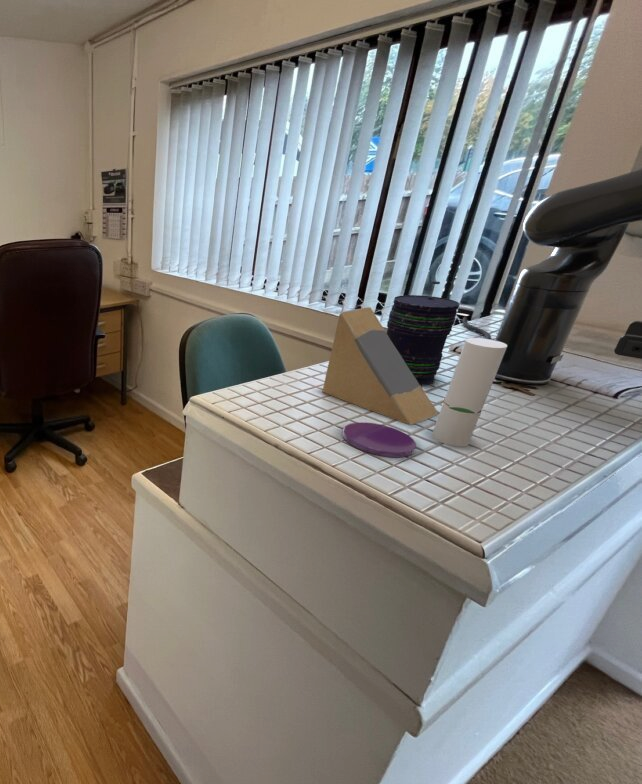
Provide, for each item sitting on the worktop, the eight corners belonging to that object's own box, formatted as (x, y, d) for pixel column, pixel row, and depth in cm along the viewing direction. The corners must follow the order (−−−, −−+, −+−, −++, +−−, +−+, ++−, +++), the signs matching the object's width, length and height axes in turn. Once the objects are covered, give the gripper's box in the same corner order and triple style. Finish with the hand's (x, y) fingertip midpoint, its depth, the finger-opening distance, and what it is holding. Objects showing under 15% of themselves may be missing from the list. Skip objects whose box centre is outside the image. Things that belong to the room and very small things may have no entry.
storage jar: (425, 390, 84) (457, 292, 77) (365, 375, 91) (389, 284, 84) (441, 376, 90) (473, 283, 82) (384, 363, 97) (408, 277, 89)
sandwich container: (411, 426, 72) (441, 334, 66) (320, 392, 84) (339, 312, 78) (441, 413, 75) (472, 325, 69) (350, 382, 88) (369, 305, 82)
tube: (424, 433, 70) (457, 338, 64) (450, 431, 70) (485, 337, 64) (448, 447, 66) (486, 348, 60) (476, 445, 66) (516, 346, 60)
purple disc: (344, 421, 74) (345, 417, 73) (413, 435, 69) (414, 431, 69) (340, 446, 67) (341, 441, 67) (416, 464, 62) (418, 459, 62)
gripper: (913, 320, 43) (644, 294, 55) (955, 352, 35) (630, 314, 47) (859, 393, 46) (615, 354, 58) (886, 438, 38) (598, 382, 50)
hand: (622, 336), depth 52 cm, fingers open, 8 cm apart
